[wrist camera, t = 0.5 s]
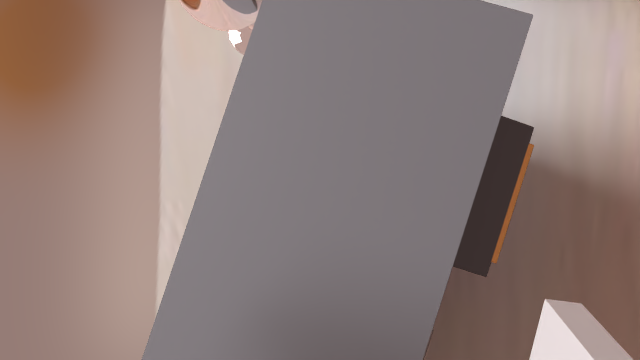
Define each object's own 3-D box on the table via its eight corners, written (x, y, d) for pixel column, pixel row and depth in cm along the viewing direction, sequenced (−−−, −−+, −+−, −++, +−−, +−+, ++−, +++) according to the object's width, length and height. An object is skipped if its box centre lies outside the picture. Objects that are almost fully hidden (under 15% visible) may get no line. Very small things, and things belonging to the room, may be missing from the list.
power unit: (338, 95, 40) (280, -54, 18) (450, 129, 39) (533, 14, 17) (247, 370, 39) (73, 563, 17) (358, 412, 38) (321, 673, 16)
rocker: (418, 132, 32) (485, 110, 22) (456, 145, 32) (541, 129, 22) (384, 235, 31) (437, 261, 21) (423, 248, 32) (493, 279, 22)
